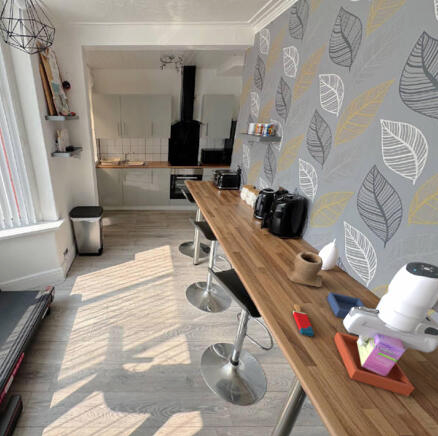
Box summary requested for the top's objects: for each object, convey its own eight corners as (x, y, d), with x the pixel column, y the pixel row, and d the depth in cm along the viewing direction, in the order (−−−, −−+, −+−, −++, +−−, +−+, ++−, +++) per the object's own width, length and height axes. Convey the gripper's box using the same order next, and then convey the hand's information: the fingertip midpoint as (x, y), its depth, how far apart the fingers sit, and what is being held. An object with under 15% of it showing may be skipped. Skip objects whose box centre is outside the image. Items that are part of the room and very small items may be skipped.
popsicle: (302, 304, 96) (315, 334, 83) (301, 307, 96) (314, 337, 83) (290, 301, 97) (301, 331, 84) (289, 304, 98) (299, 333, 84)
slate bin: (356, 305, 99) (359, 298, 97) (368, 324, 89) (372, 317, 88) (327, 298, 102) (329, 292, 100) (335, 316, 93) (339, 309, 91)
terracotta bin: (381, 351, 79) (385, 344, 77) (408, 396, 66) (414, 388, 65) (333, 338, 83) (337, 331, 81) (350, 378, 70) (355, 370, 69)
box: (386, 377, 68) (406, 350, 63) (361, 367, 71) (378, 339, 66) (378, 350, 76) (395, 324, 71) (356, 341, 79) (371, 315, 74)
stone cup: (288, 285, 109) (297, 257, 103) (284, 270, 119) (293, 245, 113) (326, 294, 104) (338, 266, 98) (319, 278, 114) (330, 252, 108)
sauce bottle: (328, 266, 125) (340, 236, 117) (335, 274, 118) (348, 243, 110) (311, 263, 126) (323, 234, 119) (317, 272, 119) (330, 241, 112)
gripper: (358, 312, 66) (340, 346, 72) (454, 335, 60) (426, 370, 66) (349, 297, 72) (333, 330, 77) (436, 317, 66) (411, 350, 71)
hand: (376, 348), depth 72 cm, fingers closed on box, 6 cm apart
